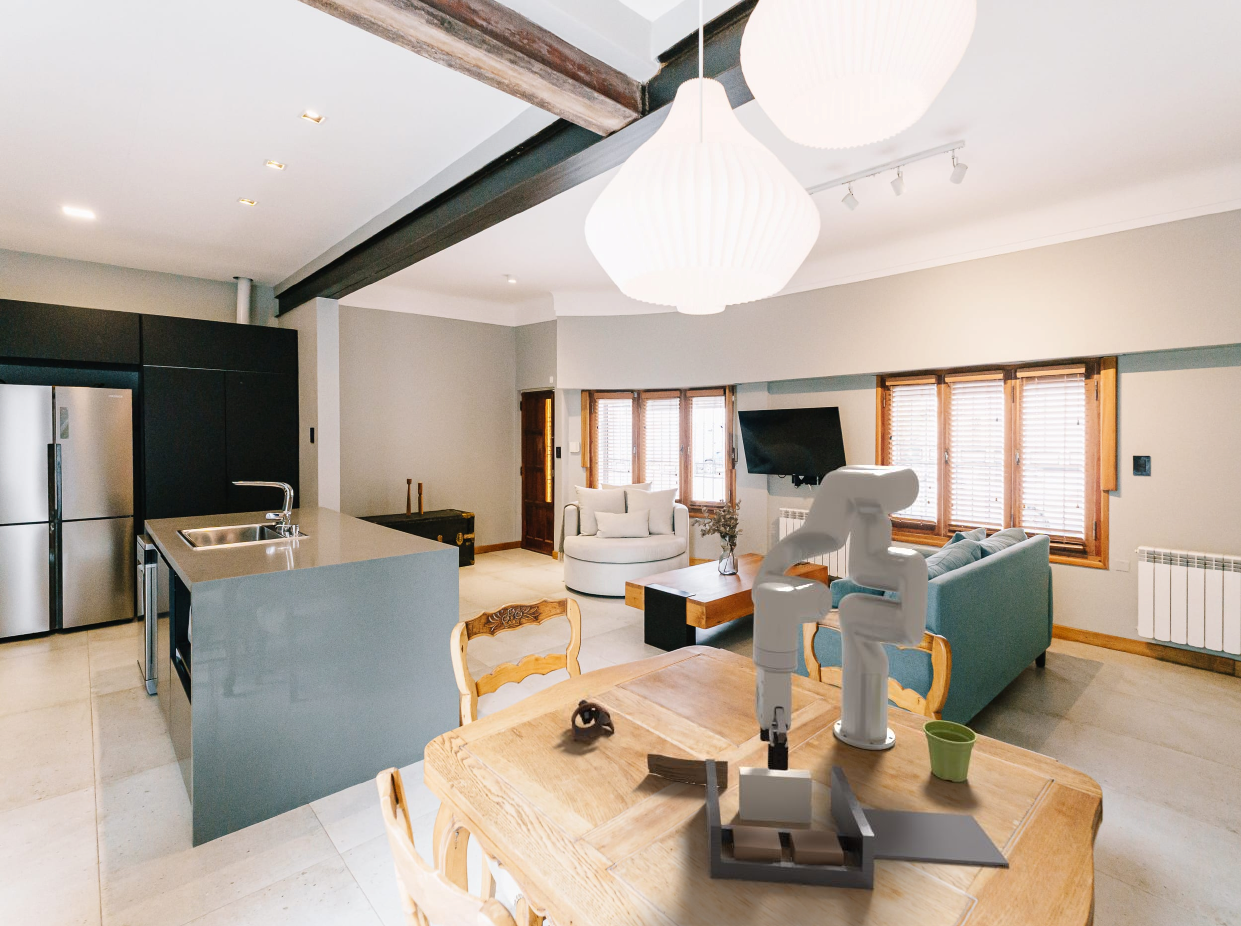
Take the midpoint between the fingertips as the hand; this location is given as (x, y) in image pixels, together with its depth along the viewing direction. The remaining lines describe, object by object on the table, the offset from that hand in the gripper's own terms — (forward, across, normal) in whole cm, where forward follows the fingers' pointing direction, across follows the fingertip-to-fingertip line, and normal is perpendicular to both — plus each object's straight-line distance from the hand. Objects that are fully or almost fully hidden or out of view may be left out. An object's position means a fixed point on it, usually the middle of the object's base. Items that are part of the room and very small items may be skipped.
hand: (773, 754), depth 105 cm
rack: (+11, +6, +1) cm, 13 cm away
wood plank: (+12, -10, -14) cm, 21 cm away
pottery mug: (+12, -27, -36) cm, 46 cm away
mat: (+11, +2, +24) cm, 27 cm away
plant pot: (+11, -18, +37) cm, 42 cm away
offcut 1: (+12, +11, -4) cm, 16 cm away
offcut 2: (+12, +11, +5) cm, 17 cm away
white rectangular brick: (+11, -1, +1) cm, 11 cm away
